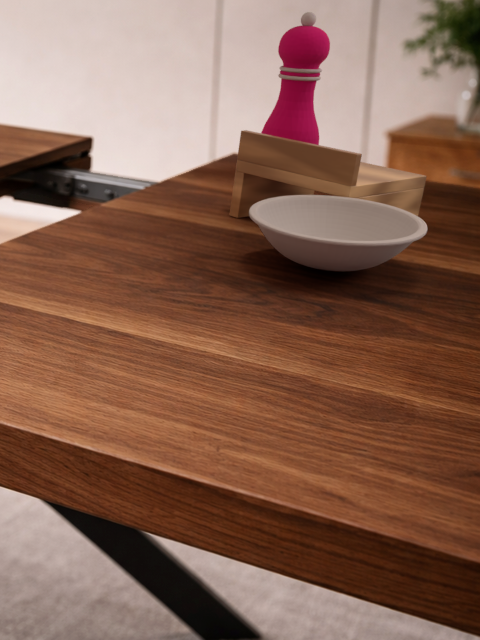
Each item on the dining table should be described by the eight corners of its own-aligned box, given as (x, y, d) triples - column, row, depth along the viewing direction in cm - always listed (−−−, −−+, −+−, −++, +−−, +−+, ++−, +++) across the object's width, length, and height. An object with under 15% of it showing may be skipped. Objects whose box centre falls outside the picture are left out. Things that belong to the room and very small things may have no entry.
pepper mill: (273, 182, 119) (299, 12, 111) (244, 170, 125) (267, 9, 118) (324, 181, 121) (353, 14, 113) (293, 169, 127) (319, 11, 120)
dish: (405, 316, 73) (418, 254, 71) (219, 283, 79) (227, 225, 78) (423, 261, 88) (434, 208, 86) (265, 237, 94) (272, 187, 92)
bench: (303, 204, 108) (316, 124, 105) (414, 234, 97) (433, 145, 94) (229, 215, 102) (240, 130, 99) (339, 248, 91) (356, 154, 88)
